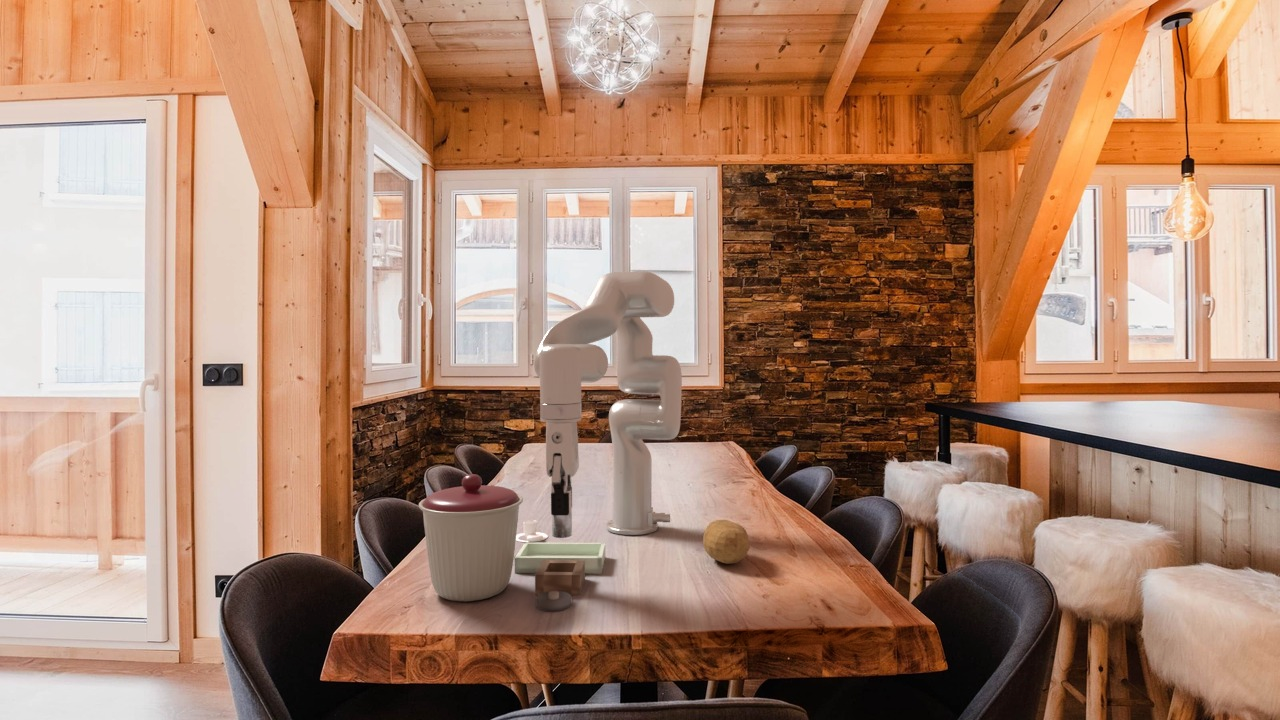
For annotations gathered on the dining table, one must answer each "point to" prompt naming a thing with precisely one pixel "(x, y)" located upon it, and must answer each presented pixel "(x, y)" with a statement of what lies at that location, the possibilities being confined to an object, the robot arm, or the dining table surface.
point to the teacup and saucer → (531, 532)
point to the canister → (471, 539)
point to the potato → (726, 541)
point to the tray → (560, 555)
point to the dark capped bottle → (563, 521)
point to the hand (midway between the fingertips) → (561, 510)
